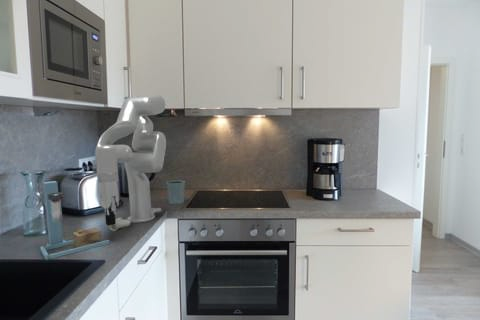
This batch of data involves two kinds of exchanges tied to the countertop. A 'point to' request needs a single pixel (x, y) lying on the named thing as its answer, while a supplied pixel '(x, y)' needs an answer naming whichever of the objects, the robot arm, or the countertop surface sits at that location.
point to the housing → (86, 237)
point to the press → (58, 229)
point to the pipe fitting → (119, 224)
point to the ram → (56, 206)
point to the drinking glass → (176, 191)
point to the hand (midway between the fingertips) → (110, 224)
